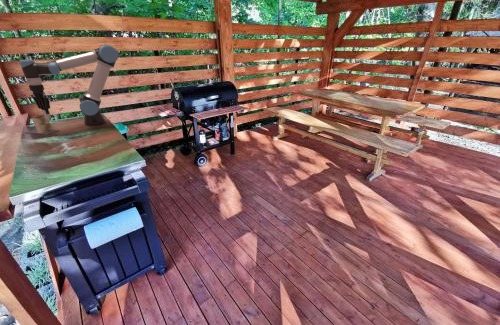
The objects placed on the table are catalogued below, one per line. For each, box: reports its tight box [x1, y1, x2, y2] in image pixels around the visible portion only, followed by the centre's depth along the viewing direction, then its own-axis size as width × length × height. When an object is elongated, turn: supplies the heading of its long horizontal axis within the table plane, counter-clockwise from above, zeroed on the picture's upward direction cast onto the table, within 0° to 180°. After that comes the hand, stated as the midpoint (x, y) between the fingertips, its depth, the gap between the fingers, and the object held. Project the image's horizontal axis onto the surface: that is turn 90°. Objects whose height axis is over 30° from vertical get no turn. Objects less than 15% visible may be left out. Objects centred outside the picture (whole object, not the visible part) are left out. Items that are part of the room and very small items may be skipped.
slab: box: [30, 113, 53, 133], centre depth 174 cm, size 8×4×12 cm, turn 168°
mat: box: [24, 128, 60, 136], centre depth 177 cm, size 10×20×1 cm, turn 78°
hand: (48, 118), depth 171 cm, fingers closed
